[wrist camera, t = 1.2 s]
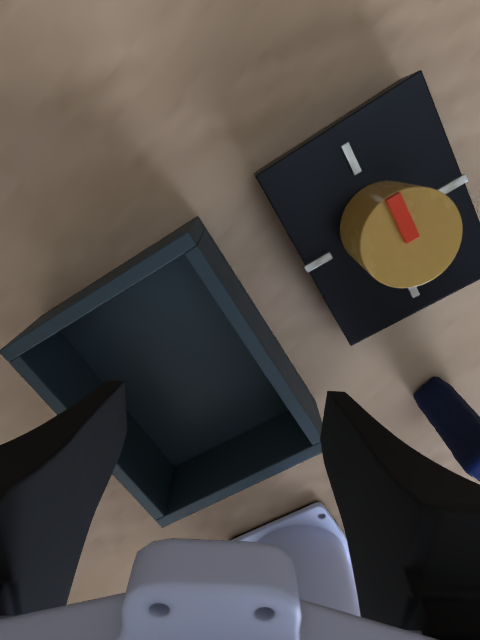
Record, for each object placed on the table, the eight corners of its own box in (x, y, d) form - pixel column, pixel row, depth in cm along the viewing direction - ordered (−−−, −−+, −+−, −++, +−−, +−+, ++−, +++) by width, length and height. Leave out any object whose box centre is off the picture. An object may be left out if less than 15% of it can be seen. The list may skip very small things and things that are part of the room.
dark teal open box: (315, 400, 26) (330, 449, 22) (173, 471, 28) (161, 528, 24) (198, 215, 22) (188, 231, 17) (41, 316, 24) (-3, 351, 20)
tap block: (473, 257, 22) (502, 270, 20) (338, 328, 24) (350, 348, 22) (401, 77, 19) (425, 66, 17) (251, 174, 21) (253, 177, 18)
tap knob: (438, 239, 20) (481, 258, 16) (361, 281, 20) (387, 308, 17) (405, 162, 18) (444, 165, 15) (325, 210, 19) (344, 223, 16)
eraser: (431, 413, 26) (492, 495, 20) (407, 394, 26) (463, 472, 19) (457, 391, 26) (529, 468, 19) (434, 371, 25) (500, 443, 19)
